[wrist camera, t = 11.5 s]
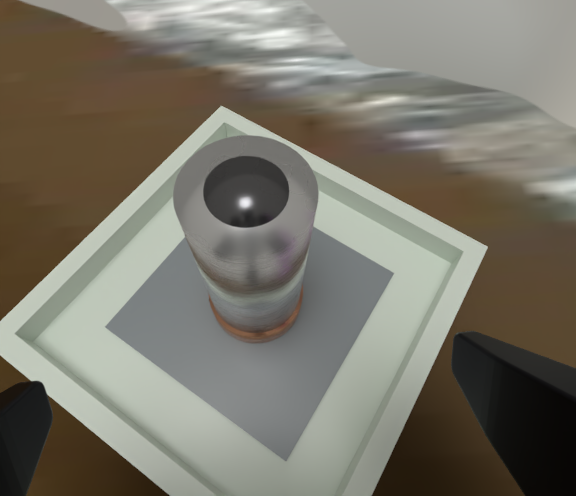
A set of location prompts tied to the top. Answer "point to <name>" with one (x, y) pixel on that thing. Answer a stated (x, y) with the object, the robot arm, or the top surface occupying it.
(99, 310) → the sage tray
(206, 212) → the metal sleeve
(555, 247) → the top surface
